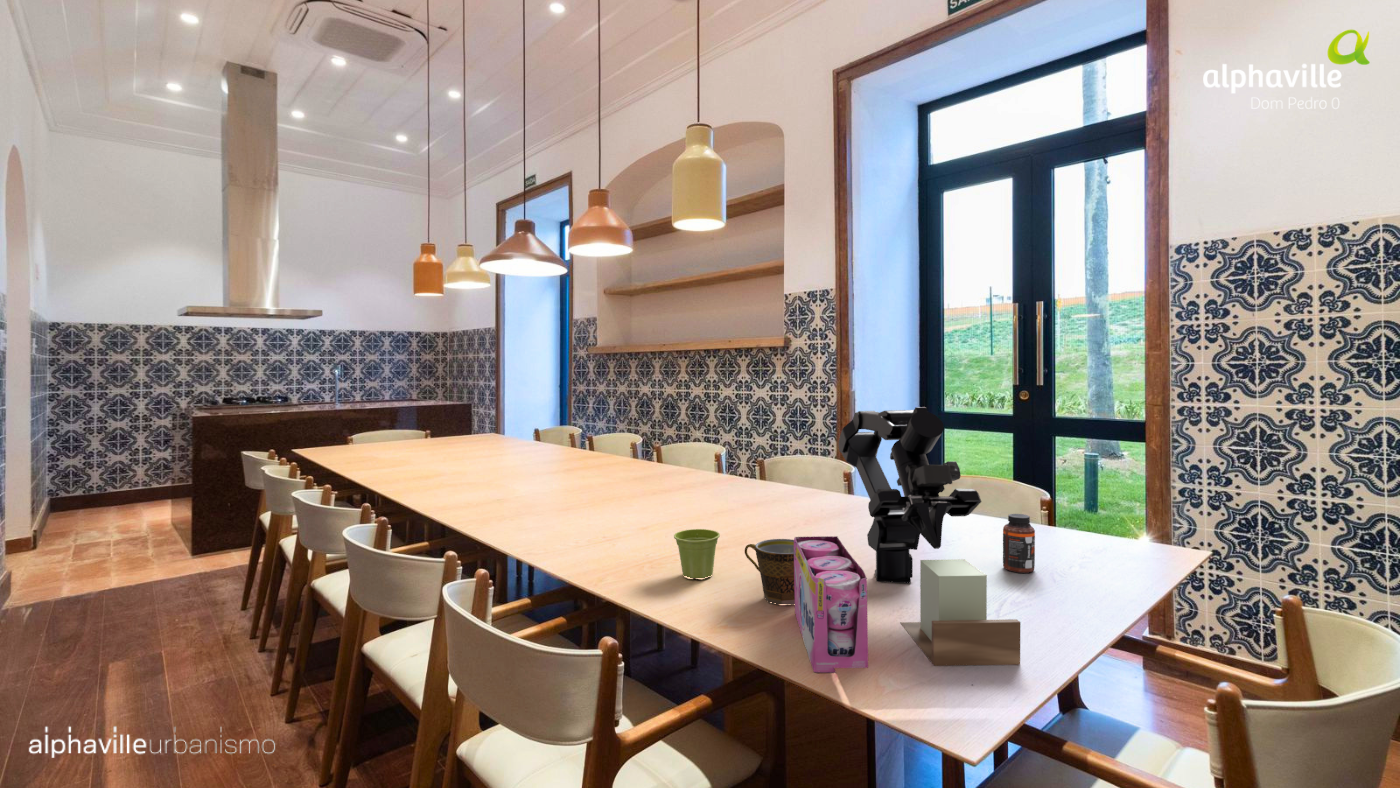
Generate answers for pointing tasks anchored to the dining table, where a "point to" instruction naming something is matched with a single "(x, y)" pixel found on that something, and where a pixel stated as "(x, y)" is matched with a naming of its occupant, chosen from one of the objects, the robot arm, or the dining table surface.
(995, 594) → the dining table surface
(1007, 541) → the supplement bottle
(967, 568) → the sage block
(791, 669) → the dining table surface
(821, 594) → the gum box
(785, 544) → the ceramic cup
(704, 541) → the plant pot
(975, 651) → the brown box
